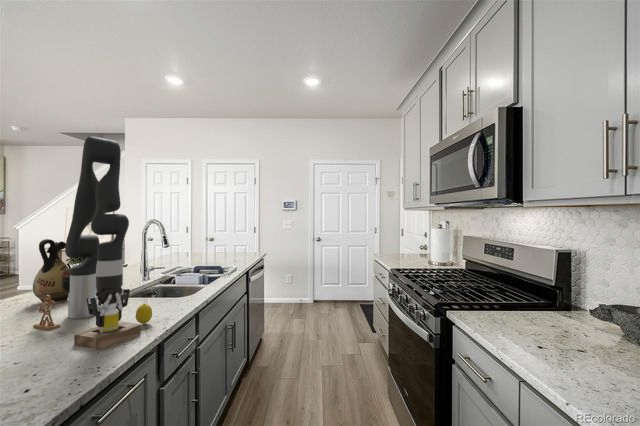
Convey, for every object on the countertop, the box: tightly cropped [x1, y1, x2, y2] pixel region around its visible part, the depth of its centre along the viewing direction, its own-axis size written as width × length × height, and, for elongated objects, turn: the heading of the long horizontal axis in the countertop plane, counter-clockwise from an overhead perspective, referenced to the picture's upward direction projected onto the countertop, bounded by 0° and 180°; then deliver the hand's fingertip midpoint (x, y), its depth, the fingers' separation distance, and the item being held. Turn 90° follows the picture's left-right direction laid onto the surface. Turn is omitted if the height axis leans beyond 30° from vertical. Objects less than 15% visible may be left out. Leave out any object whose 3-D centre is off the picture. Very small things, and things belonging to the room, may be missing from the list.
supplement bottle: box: [99, 303, 119, 334], centre depth 106 cm, size 5×5×10 cm
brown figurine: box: [32, 295, 61, 332], centre depth 116 cm, size 9×4×12 cm, turn 71°
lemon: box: [135, 303, 153, 326], centre depth 120 cm, size 6×6×8 cm
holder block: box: [73, 320, 142, 352], centre depth 106 cm, size 12×14×4 cm
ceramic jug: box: [32, 238, 71, 304], centre depth 149 cm, size 17×15×30 cm
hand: (108, 323), depth 106 cm, fingers closed on supplement bottle, 5 cm apart
